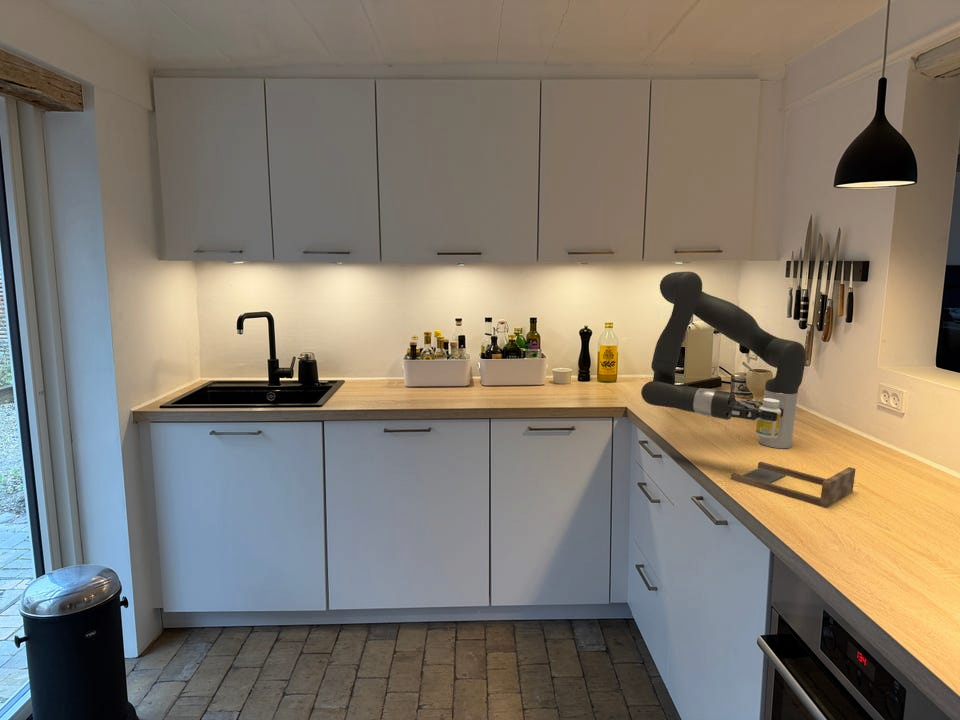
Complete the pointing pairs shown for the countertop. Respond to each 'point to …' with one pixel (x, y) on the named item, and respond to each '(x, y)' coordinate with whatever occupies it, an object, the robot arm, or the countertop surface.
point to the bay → (831, 487)
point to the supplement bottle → (766, 426)
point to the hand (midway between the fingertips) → (779, 415)
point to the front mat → (765, 475)
